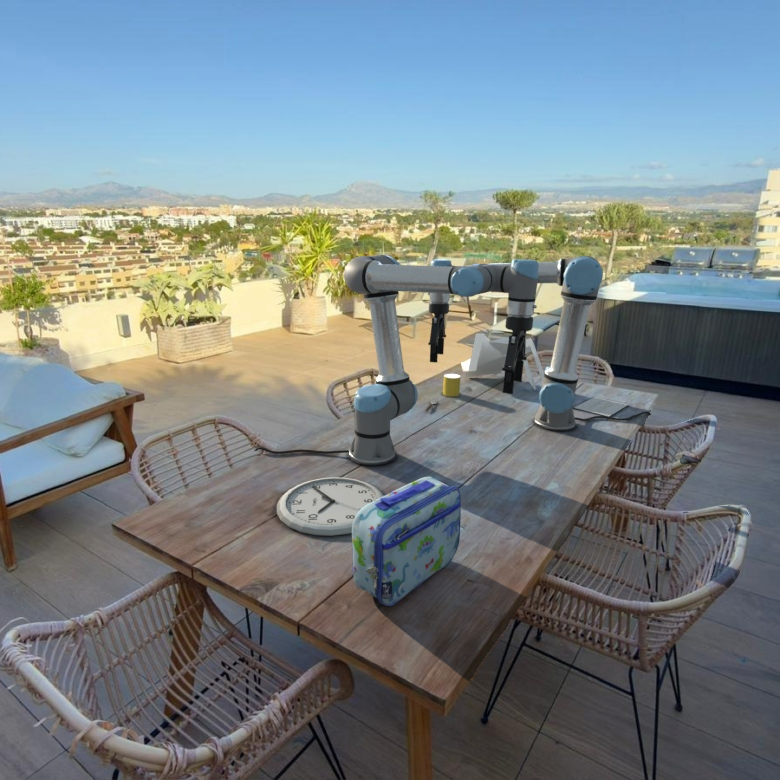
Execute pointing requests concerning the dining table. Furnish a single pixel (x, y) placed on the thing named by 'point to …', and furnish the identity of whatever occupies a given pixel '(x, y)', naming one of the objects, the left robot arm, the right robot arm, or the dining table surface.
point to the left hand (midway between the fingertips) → (512, 386)
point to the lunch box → (405, 538)
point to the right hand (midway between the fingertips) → (436, 358)
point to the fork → (432, 403)
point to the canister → (451, 385)
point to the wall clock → (325, 505)
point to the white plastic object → (496, 358)
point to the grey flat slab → (601, 406)
